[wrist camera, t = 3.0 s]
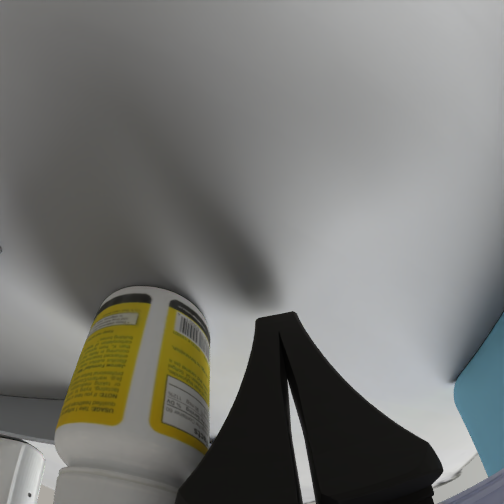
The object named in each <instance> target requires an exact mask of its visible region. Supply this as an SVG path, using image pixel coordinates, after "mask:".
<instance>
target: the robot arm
mask: <svg viewBox="0 0 504 504" xmlns="http://www.w3.org/2000/svg"><path fill="white" fill-rule="evenodd" d="M287 379H288V382H289V386H290V389H291V393H292V396H293V399H294V403H295V406H296V410H297V413H298V416H299V420H300V423H301V427H302V430H303V435H304V439H305V444H306V449H307V455H308V460H309V466H310V472H311V477H312V483H313V489H314V494H315V500H316V504H434V502H433V499H432V496H433V495H434V491H433V488H432V485H431V484H433V483H434V482H435V481H436V480H437V479H438V478H439V477H440V476H441V474H442V473H443V467H442V464H441V462H440V460H439V458H438V456H437V455H436V453H435V451H434V450H433V448H432V447H431V446H430V444H429V443H428V442H426V441H425V440H423V439H421V438H419V437H418V436H416V435H414V434H412V433H411V432H409V431H408V430H406V429H404V428H403V427H401V426H400V425H398V424H397V423H395V422H394V421H392V420H391V419H390V418H388V417H387V416H386V415H384V414H383V413H382V412H380V411H379V410H378V409H377V408H375V407H374V406H373V405H372V404H370V403H369V402H368V401H367V400H365V399H364V398H363V397H362V396H361V395H360V394H359V393H358V392H357V391H355V390H354V389H353V388H352V387H351V386H350V385H349V384H348V383H347V382H346V381H345V380H344V379H343V378H342V377H341V375H340V374H339V373H338V372H337V371H336V370H335V369H334V368H333V366H332V365H331V364H330V363H329V362H328V361H327V359H326V358H325V357H324V356H323V354H322V353H321V352H320V350H319V349H318V348H317V346H316V345H315V344H314V342H313V341H312V340H311V338H310V337H309V335H308V333H307V332H306V330H305V329H304V327H303V325H302V324H301V322H300V320H299V318H298V316H297V313H295V312H293V311H292V312H287V313H282V314H277V315H272V316H267V317H261V318H258V319H257V320H256V321H255V334H254V340H253V345H252V350H251V354H250V358H249V361H248V365H247V369H246V372H245V375H244V378H243V380H242V383H241V386H240V389H239V392H238V394H237V397H236V399H235V401H234V404H233V406H232V408H231V410H230V412H229V414H228V416H227V418H226V420H225V422H224V424H223V426H222V428H221V430H220V432H219V433H218V435H217V437H216V439H215V440H214V442H213V443H211V444H209V449H208V451H207V453H206V454H205V456H204V457H203V459H202V460H201V462H200V463H199V464H198V466H197V467H196V468H195V470H194V471H193V472H192V473H191V475H190V476H189V477H188V478H187V479H186V481H185V482H184V483H183V484H182V486H181V487H180V488H179V490H178V492H177V496H176V499H175V504H303V501H302V495H301V489H300V484H299V478H298V472H297V466H296V460H295V454H294V448H293V442H292V434H291V422H290V408H289V394H288V382H287ZM438 504H504V468H503V469H501V470H500V471H498V472H497V473H495V474H493V475H492V476H490V477H488V478H487V479H485V480H483V481H481V482H480V483H478V484H476V485H474V486H472V487H471V488H468V489H467V490H465V491H463V492H461V493H459V494H457V495H455V496H453V497H451V498H449V499H446V500H444V501H442V502H440V503H438Z"/></svg>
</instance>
